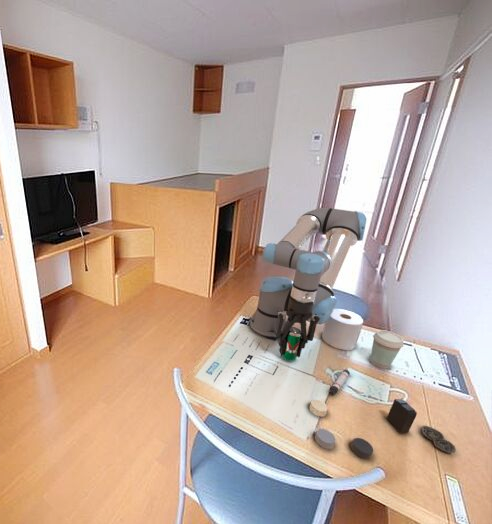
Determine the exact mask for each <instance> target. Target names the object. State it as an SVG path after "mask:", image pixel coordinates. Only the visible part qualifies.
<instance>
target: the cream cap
mask: <svg viewBox="0 0 492 524" xmlns="http://www.w3.org/2000/svg"><path fill="white" fill-rule="evenodd" d="M328 408H329V407H328V405H327V404H326V403H325V402H324V401H322V400H320V399H312V400H311V401H310V404H309V411H310V412H311V414H313V415H315V416H317V417H321V418H322V417H323V418H324V417H325V416H326V415H327V413H328Z"/></svg>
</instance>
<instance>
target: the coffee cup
mask: <svg viewBox="0 0 492 524" xmlns="http://www.w3.org/2000/svg"><path fill="white" fill-rule="evenodd" d="M372 336H373V337H372V338H373V340H372V345H371V351H370V358H369V362H370V363H371V364H372V365H373V366H375V367H377V368H380V369H385V370H387V369H390V367H391V365H392V364H393V362H394V360H395V359H396V357H397V356H398V354H399V352H400V351H401V349H402V348H403V347H404V338H403V337H402V336H401V335H399V334H397V333H396V332H393V331H389V330H386V329H379V330H376V332H375V333H374V334H373V335H372Z"/></svg>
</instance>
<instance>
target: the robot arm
mask: <svg viewBox="0 0 492 524" xmlns="http://www.w3.org/2000/svg"><path fill="white" fill-rule="evenodd" d="M367 219H368V215H367V213H365V212H361V211H357V210H355V211H354V210H345V209H339V208H331V207H320V208H319V207H318V208H315V209H312V210H309V211H307V212H305V213H303V214H302V215H301V216H300V217H299V218H298V219H297V220H296V224H295V225H294V226H293V227H292V228H291V229H290V230H289V231H288V232H287V234H285V235H284V236H283V238H282V239H280V240H279V242H277V243H275V242H274V243H271V242H269V243H267V244H266V245H265V246H264V248H263V252H262V260H263V261H264V262H265V263H268V264H272V265H276V266H279V267H283V268H288V269H291V270H295V271H294V278H293V280H292V279H290V278H288V277H285V276H268V277H265V278H264V279H263V280H262V281H261V283H260V287H259V294H258V300H257V306H256V310H255V312H254V313H253V314H252V317H250V318H249V317H248V318H247V321H249V327H250V328H251V330H252V331H253V332H255V333H256V334H258V335H260V336H263V337H265V338H269V339H278V342H277V344H278V347H279V349H278V351H279V354H280V356H282V355H283V354H284V349H285V345H286V339H285V337H286V336H287V334H288V332H289V330H290V329H291V327H293V326H294V325H295V324H297V323H298V324H299V325H300V330H301V333H302V337H301V341H300V345H299V349H298V353H297V357H296V358H301V354H302V350H303V349H305V348H306V344H309V342H313V341H314V337H315V333H316V328H317V325H320V326H321V325H325V322H326V321H327V320H328V319H329V317H330V316H331V314H332V312H333V309H335V307H336V305H337V301H338V300H337V297H335V292H334V290H333V288H334V286H335V284H336V281H337V279H338V276H339V274H340V271H341V270H342V267H343V264H344V262H345V259H346V258H347V255H348V253H349V250H350V249H351V247H352V246H354V245H355V246H356V244H357V243H358V242H361V241H363V239H364V235H365V230H366V225H367ZM316 234H322V235H325V238H326V242H325V244H324V247H323V248H322V250H315V251H309V250H304V249H301V248H302V247H303V246H304V245H305V243H306V242H307V241H308V240H309V239H310V238H311V236H313V235H316ZM307 322H308V323H309V324H308V328H307ZM307 329H308V330H307Z"/></svg>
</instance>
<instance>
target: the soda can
mask: <svg viewBox="0 0 492 524" xmlns="http://www.w3.org/2000/svg"><path fill="white" fill-rule="evenodd" d="M285 339H286V345H285V349H284V354H283V355H281V357H282V358H283V359H284V360H286V361H289V362H294V361H295V360H297V358H298V357H297V353H298V349H299V345H300V341H301V339H302V333H301V328H298V327H296V326H292V327H291V329H290V330H289V332H288V334H287V336H286V337H285Z"/></svg>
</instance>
